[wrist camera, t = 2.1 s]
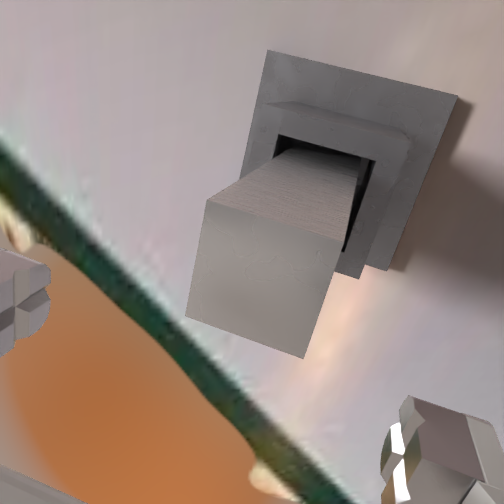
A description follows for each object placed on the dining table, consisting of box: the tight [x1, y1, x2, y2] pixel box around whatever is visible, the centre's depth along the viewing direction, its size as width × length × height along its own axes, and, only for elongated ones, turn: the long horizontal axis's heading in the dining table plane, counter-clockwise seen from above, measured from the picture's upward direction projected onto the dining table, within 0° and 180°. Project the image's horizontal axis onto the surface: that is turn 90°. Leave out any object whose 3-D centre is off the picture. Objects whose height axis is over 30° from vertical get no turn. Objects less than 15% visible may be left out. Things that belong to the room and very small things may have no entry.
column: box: [185, 141, 362, 359], centre depth 22 cm, size 4×4×22 cm
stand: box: [239, 50, 458, 279], centre depth 28 cm, size 14×14×14 cm
